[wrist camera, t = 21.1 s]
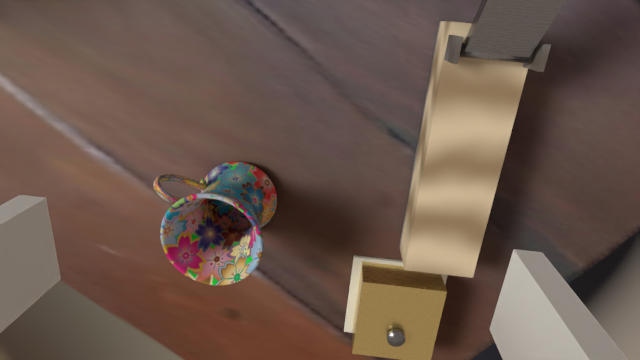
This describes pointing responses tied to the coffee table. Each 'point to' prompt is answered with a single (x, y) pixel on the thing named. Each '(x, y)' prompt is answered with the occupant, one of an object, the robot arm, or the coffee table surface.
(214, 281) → the mug
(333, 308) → the coffee table surface
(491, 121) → the body
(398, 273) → the yellow block with knob
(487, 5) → the lever
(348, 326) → the felt pad
